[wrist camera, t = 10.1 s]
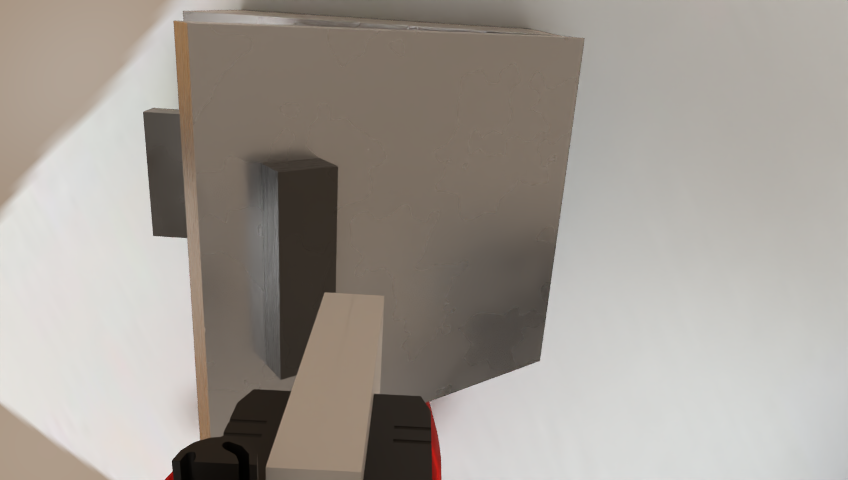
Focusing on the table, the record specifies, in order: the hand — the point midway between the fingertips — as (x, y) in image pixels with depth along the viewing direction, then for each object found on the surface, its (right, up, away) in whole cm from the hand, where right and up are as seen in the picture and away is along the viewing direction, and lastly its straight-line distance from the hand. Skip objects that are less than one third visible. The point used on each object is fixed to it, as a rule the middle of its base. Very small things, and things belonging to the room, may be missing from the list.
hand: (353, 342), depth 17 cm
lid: (+1, +3, +9) cm, 9 cm away
